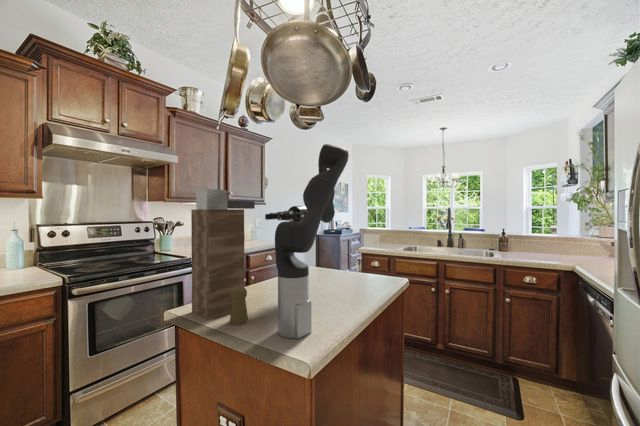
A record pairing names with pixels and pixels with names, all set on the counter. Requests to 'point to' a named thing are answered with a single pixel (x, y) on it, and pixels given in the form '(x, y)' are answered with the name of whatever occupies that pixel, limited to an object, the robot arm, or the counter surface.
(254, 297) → the counter surface
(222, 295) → the tall wooden block
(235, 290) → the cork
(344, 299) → the counter surface
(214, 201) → the meat mallet
